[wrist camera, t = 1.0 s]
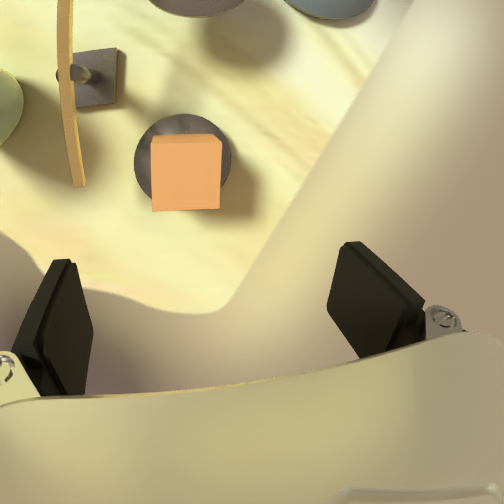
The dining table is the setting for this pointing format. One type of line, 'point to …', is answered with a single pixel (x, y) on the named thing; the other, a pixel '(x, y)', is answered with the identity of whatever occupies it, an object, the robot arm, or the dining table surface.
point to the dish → (330, 8)
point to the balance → (104, 90)
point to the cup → (9, 104)
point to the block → (185, 172)
